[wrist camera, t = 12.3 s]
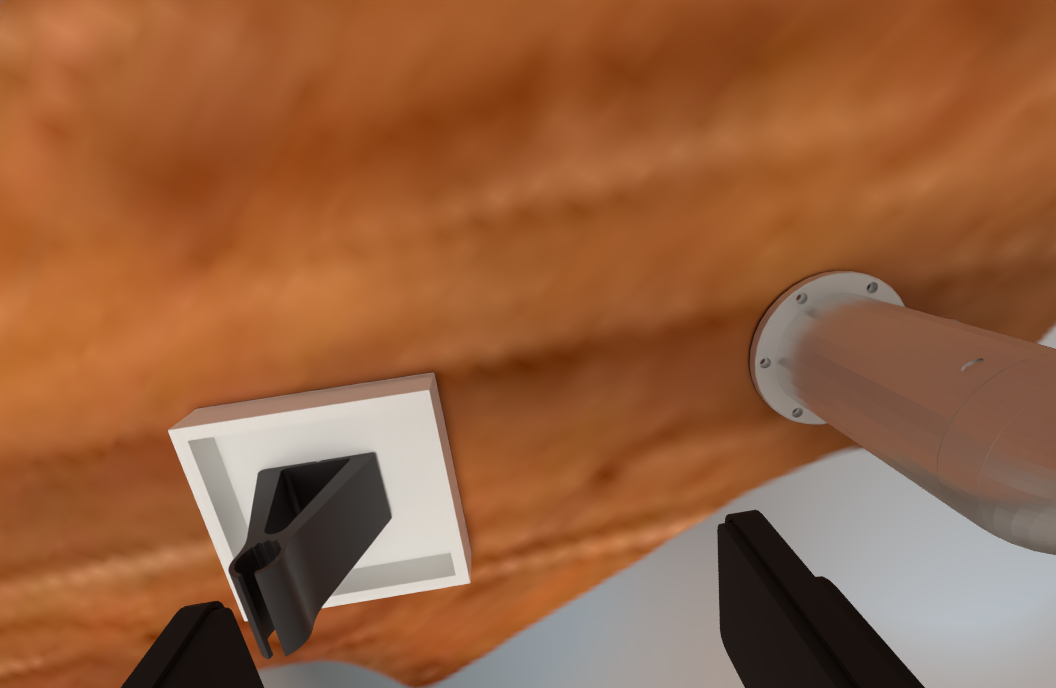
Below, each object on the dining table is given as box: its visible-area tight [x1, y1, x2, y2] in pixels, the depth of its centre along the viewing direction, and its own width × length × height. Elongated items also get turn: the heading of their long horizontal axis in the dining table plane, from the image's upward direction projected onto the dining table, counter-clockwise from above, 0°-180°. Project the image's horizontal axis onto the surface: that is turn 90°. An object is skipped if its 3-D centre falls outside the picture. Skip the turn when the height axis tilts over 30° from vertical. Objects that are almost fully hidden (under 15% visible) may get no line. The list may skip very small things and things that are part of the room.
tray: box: [168, 372, 472, 621], centre depth 38 cm, size 18×17×4 cm
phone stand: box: [228, 452, 392, 659], centre depth 33 cm, size 9×6×12 cm, turn 97°
